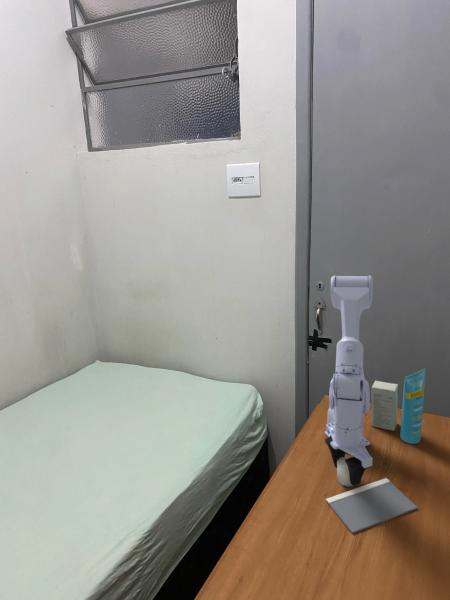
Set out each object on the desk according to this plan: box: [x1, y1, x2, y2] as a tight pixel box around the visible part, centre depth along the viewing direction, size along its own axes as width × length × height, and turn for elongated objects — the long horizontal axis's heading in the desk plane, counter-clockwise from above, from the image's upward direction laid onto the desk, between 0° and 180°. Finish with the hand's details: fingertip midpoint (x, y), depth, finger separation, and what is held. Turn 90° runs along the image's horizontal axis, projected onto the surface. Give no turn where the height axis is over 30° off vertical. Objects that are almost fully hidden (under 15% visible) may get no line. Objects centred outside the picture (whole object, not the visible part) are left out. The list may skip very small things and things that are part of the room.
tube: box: [399, 367, 426, 445], centre depth 104 cm, size 7×5×19 cm, turn 123°
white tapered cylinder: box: [336, 456, 355, 487], centre depth 94 cm, size 4×4×4 cm
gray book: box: [325, 477, 418, 534], centre depth 87 cm, size 10×16×1 cm, turn 109°
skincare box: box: [370, 380, 399, 432], centre depth 112 cm, size 6×4×12 cm
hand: (347, 474), depth 94 cm, fingers open, 6 cm apart
